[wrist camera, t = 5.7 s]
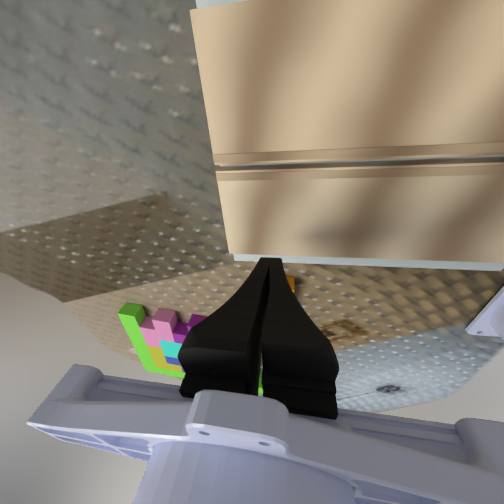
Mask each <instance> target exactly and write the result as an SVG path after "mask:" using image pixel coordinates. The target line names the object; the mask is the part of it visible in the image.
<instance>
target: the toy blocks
mask: <svg viewBox="0 0 504 504" xmlns="http://www.w3.org/2000/svg"><path fill="white" fill-rule="evenodd" d="M286 277H287V280H288V282H289V285H290V287H291V289H292V291H293V293H294V277H290V276H286ZM117 314H118V316H119V318H120V320H121V322H122V324H123V326H124V328H125V330H126V332H127V334H128V336H129V338H130V340H131V342H132V344H133V346H134V348H135V350H136V352H137V354H138V356H139V358H140V360H141V362H142V364H143V365H144V368H145V370H146V371H150V372H155V373H159V374H164V375H170V376H175V377H180V378H184V376H185V372H184V370H183V368H182V366H181V364H180V362H179V360H178V357H177V356H178V353H179V350H180V348H181V346H182V343H183V341H184V339H185V337H186V335H187V334H188V332H189V330H190V329H191V327H193V326H195V325H196V324H198V323H199V322H201V321H202V320H204V319H205V318H207V317H205V316H199V315H194V314H192V316H191V318H190V321H189V323H182V322H178V320H177V316H176V311H171V310H166V309H160V308H159V309H158V310H157V312H156V314H155V315H154V317H149V316H146V314H145V311H144V308H143V306H142V305H137V304H132V303H125V305H124V306H123V307H122V308H121V309H120V311H119V312H118V313H117ZM261 380H262V376H260V377H259V390H258V393H260V394H263V389H262V384H261Z"/></svg>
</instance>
